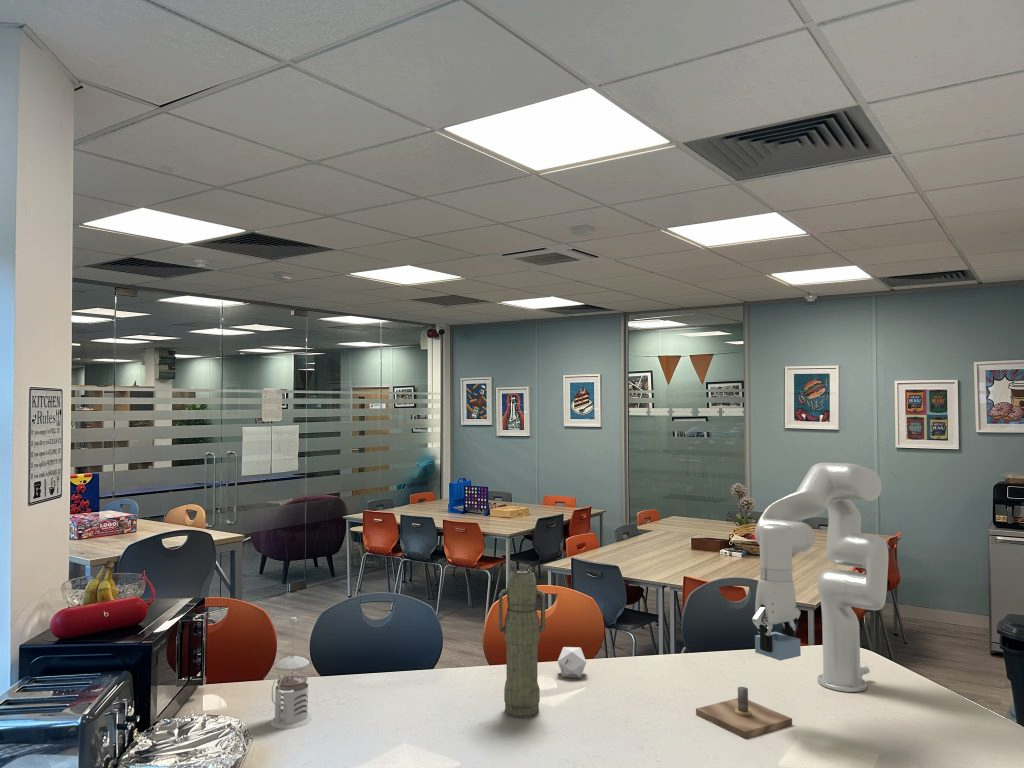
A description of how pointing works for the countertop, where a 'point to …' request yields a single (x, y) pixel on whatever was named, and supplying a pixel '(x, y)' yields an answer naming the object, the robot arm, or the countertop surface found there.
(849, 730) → the countertop surface
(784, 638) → the slate ring
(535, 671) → the thermos
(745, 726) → the post board
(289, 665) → the french press
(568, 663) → the die
